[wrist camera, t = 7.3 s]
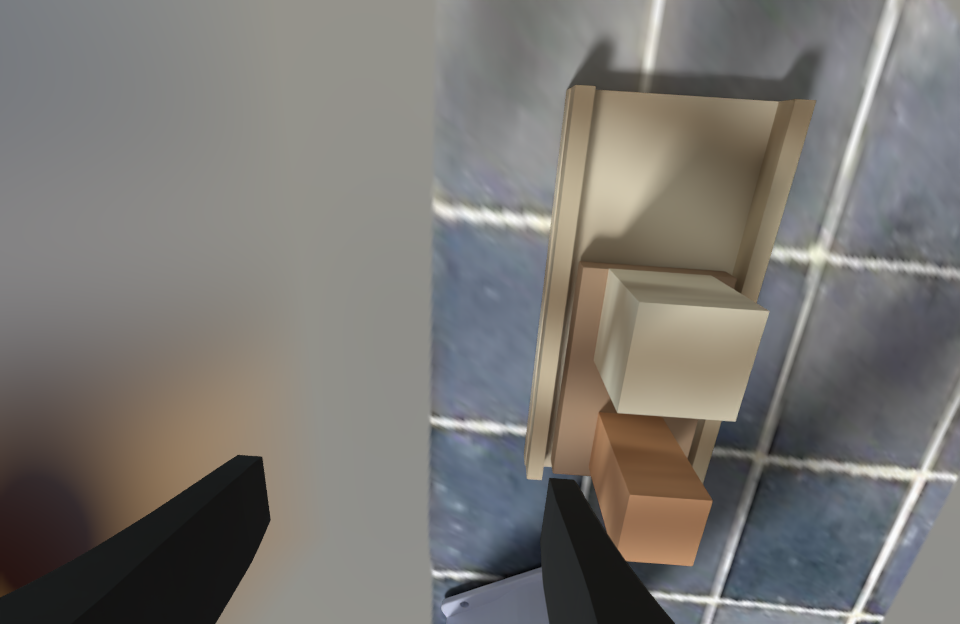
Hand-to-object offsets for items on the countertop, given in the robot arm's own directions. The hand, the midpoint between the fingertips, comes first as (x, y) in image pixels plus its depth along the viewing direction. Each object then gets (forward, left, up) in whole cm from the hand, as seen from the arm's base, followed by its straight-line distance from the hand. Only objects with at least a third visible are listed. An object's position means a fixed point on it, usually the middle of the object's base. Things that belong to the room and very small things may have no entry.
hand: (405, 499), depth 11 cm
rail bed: (+8, -2, -10) cm, 14 cm away
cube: (+8, -2, -8) cm, 12 cm away
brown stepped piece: (+7, -5, -9) cm, 13 cm away
